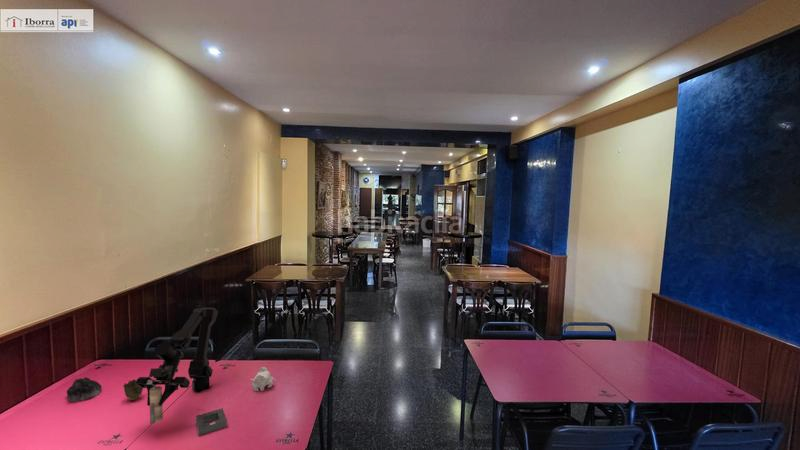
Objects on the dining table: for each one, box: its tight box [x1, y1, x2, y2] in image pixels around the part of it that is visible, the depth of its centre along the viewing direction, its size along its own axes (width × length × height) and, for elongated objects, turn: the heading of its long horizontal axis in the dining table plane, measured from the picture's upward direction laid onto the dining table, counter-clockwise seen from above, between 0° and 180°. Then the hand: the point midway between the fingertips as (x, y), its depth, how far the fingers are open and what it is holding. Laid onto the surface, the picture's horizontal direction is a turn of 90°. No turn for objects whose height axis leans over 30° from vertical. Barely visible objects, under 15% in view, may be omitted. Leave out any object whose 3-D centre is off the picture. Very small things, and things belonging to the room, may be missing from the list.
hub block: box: [195, 407, 228, 437], centre depth 144 cm, size 10×10×3 cm
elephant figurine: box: [250, 366, 276, 392], centre depth 173 cm, size 10×12×9 cm
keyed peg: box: [149, 385, 164, 425], centre depth 137 cm, size 5×4×12 cm
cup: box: [123, 379, 144, 402], centre depth 161 cm, size 8×7×8 cm
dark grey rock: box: [66, 376, 103, 403], centre depth 164 cm, size 13×14×10 cm
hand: (153, 405), depth 136 cm, fingers closed on keyed peg, 4 cm apart
